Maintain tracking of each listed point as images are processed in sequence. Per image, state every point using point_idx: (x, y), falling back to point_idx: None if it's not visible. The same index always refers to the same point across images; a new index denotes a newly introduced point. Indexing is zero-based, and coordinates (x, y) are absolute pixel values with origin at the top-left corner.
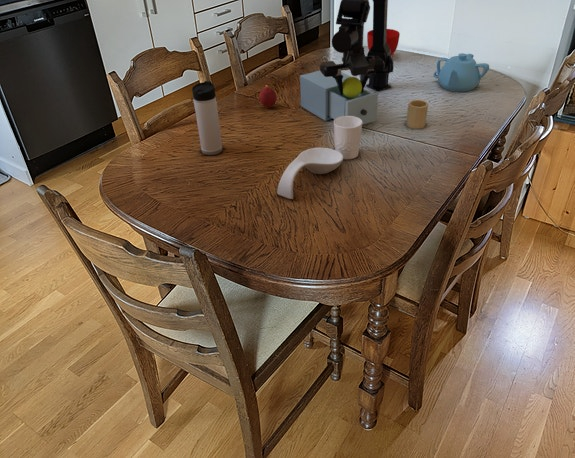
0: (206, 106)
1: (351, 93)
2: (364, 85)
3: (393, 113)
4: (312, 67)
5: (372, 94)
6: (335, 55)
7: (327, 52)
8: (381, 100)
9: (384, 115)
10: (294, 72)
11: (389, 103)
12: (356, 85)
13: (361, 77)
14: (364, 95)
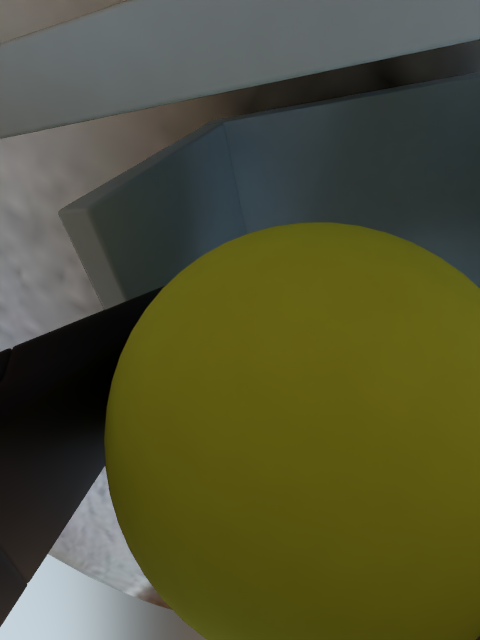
0: None
1: (450, 266)
2: (78, 331)
3: (27, 143)
4: None
5: (33, 71)
6: (132, 579)
7: (146, 594)
8: (66, 321)
9: (88, 145)
10: None
11: (33, 274)
12: (282, 361)
13: (43, 509)
14: (157, 263)
